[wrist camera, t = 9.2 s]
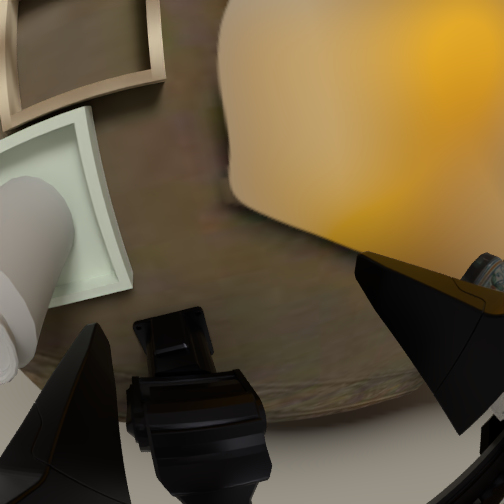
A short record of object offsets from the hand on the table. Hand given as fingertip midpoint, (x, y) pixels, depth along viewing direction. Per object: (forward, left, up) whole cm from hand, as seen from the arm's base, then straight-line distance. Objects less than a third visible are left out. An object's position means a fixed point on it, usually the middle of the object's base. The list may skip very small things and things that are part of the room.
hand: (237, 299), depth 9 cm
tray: (+1, +12, -13) cm, 18 cm away
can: (+1, +12, -13) cm, 17 cm away
